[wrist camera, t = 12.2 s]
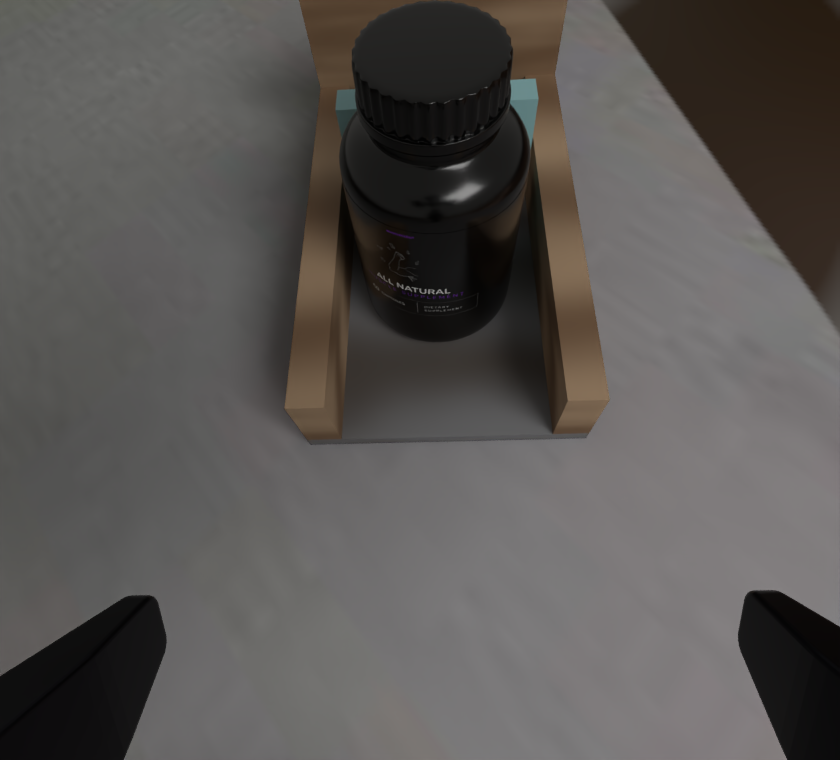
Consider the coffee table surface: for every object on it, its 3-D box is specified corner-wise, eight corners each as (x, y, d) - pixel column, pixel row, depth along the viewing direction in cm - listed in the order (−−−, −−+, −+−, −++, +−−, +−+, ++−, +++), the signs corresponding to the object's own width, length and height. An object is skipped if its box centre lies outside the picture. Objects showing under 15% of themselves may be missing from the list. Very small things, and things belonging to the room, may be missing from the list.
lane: (585, 438, 24) (648, 337, 16) (310, 444, 24) (241, 351, 16) (540, 122, 32) (567, -44, 24) (337, 133, 33) (300, -25, 25)
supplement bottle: (390, 366, 25) (339, 155, 14) (354, 253, 28) (290, 8, 17) (531, 324, 25) (586, 89, 15) (481, 217, 28) (497, -43, 18)
